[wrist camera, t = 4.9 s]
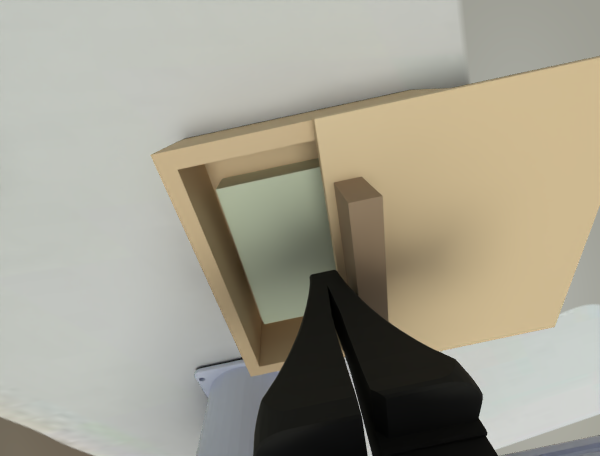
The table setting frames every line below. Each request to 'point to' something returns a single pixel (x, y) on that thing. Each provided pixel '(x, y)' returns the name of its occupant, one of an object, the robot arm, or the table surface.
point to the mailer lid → (466, 202)
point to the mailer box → (257, 223)
